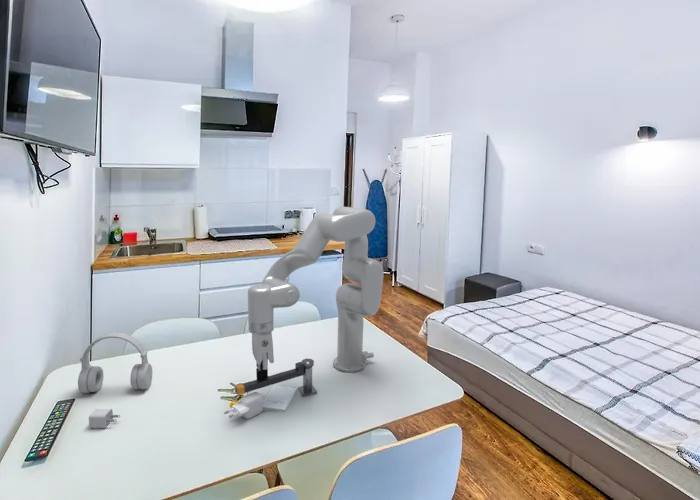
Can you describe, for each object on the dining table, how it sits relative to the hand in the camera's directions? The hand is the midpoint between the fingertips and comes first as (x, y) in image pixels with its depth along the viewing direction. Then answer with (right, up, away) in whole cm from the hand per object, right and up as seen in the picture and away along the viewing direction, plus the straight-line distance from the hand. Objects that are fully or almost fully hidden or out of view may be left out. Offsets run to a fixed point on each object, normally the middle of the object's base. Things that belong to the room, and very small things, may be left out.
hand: (262, 380), depth 127 cm
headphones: (-49, -5, +6) cm, 49 cm away
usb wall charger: (-42, -9, -12) cm, 44 cm away
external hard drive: (+5, -8, +3) cm, 9 cm away
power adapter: (-4, -9, -7) cm, 12 cm away
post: (+13, -6, +8) cm, 17 cm away
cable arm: (+5, 0, 0) cm, 5 cm away
